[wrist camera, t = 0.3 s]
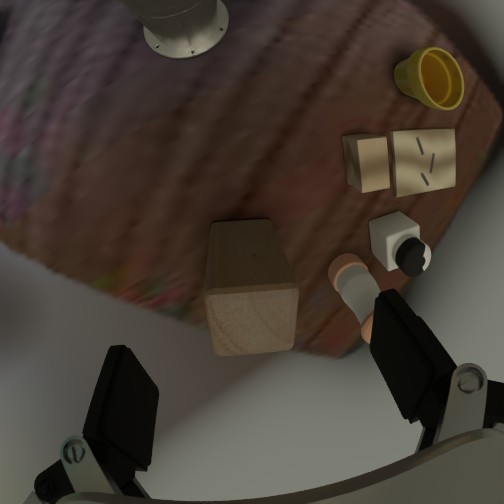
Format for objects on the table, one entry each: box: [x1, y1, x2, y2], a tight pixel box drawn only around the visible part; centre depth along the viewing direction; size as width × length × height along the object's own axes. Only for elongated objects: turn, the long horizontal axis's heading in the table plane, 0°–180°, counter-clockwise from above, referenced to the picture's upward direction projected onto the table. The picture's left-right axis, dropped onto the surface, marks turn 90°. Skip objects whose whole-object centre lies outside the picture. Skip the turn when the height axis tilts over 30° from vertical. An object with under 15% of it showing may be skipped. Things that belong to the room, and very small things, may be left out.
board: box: [390, 128, 455, 197], centre depth 42 cm, size 12×16×1 cm
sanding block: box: [341, 133, 390, 193], centre depth 39 cm, size 8×5×6 cm, turn 12°
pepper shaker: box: [328, 253, 380, 344], centre depth 43 cm, size 7×7×19 cm
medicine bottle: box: [369, 211, 431, 277], centre depth 44 cm, size 7×7×12 cm
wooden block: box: [204, 219, 299, 356], centre depth 39 cm, size 10×10×20 cm
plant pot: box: [394, 47, 464, 110], centre depth 31 cm, size 10×10×10 cm
